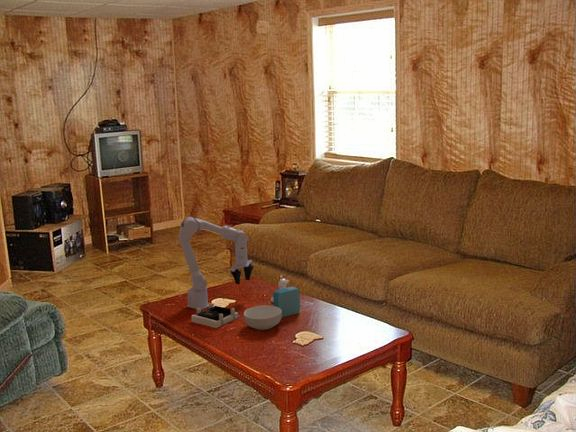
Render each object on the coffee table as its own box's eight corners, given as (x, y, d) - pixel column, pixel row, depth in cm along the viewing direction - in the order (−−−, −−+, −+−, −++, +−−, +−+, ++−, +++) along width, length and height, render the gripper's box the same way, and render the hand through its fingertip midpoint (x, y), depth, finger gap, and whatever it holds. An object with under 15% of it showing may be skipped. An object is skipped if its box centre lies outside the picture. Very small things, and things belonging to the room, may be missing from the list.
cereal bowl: (260, 317, 293) (259, 302, 292) (289, 324, 284) (289, 309, 282) (236, 329, 280) (235, 314, 278) (266, 337, 270) (266, 321, 269)
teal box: (294, 309, 301) (294, 285, 299) (300, 312, 298) (299, 288, 295) (273, 315, 295) (272, 291, 292) (279, 318, 291) (278, 293, 288)
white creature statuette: (284, 297, 319) (283, 274, 317) (296, 301, 313) (295, 277, 311) (270, 301, 313) (269, 278, 311) (281, 305, 307) (281, 282, 305)
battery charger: (213, 326, 285) (212, 317, 284) (197, 322, 290) (196, 314, 290) (231, 317, 295) (230, 308, 295) (215, 313, 301) (215, 305, 300)
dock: (191, 321, 290) (190, 311, 289) (214, 311, 302) (213, 301, 301) (216, 328, 281) (216, 317, 280) (238, 317, 293) (238, 307, 292)
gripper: (237, 260, 302) (239, 287, 305) (257, 252, 314) (258, 279, 317) (226, 257, 306) (228, 284, 309) (246, 251, 318) (247, 277, 321)
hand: (242, 281), depth 313 cm, fingers open, 7 cm apart
